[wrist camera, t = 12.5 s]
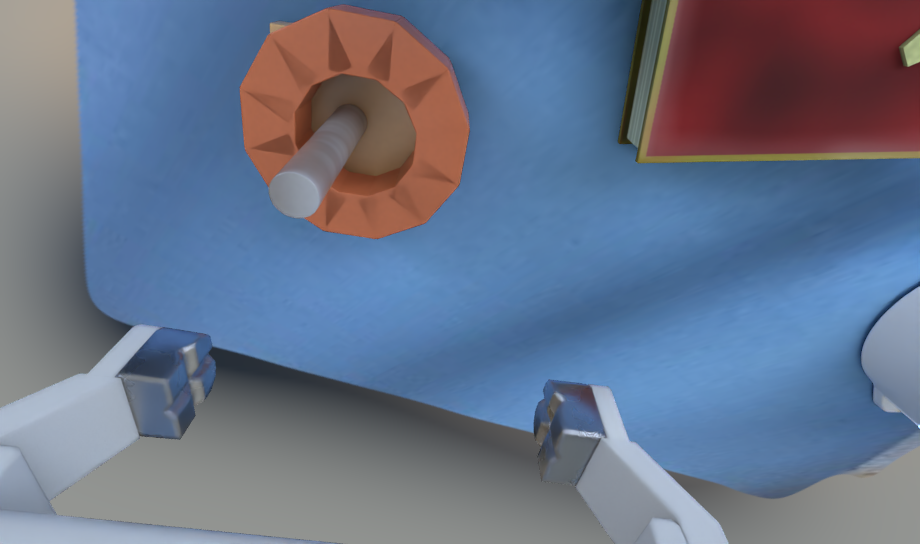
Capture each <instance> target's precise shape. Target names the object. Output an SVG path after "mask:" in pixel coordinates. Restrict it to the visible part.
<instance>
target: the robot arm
mask: <svg viewBox="0 0 920 544" xmlns="http://www.w3.org/2000/svg"><path fill="white" fill-rule="evenodd" d="M211 348H212V342H211V338H210V336H209V335H207V334H203V333H197V332H191V331H184V330H178V329H172V328H165V327H156V326H150V325H144V324H139V325H137V326H134V327H133V328H132V329H131V330H130V331H129V332H128V333H127V334H126V335H125V336H124V337H123V338H122V339H121V340H120V341H119V342H118V343H117V344H116V345H115V346H114V347H113V348H112V349H111V350H110V351H109V352H108V353H107V354H106V355H105V356H104V357H103V358H102V359H101V360H100V361H99V362H98V363H97V364H96V365H95V366H94V367H93V368H92V370H91V371H90V372H89V373H88V374H82V373H79V374H77V375H75V376H72V377H70V378H68V379H66V380H63V381H61V382H58V383H56V384H54V385H52V386H49V387H47V388H45V389H42V390H40V391H38V392H36V393H33V394H31V395H29V396H26V397H24V398H22V399H19V400H17V401H15V402H12V403H10V404H8V405H5V406H3V407H1V408H0V544H341V543H331V542H321V541H311V540H300V539H290V538H281V537H271V536H261V535H251V534H241V533H232V532H222V531H212V530H201V529H192V528H182V527H171V526H162V525H152V524H142V523H132V522H122V521H112V520H101V519H92V518H82V517H72V516H62V515H57V514H56V512H55V510H54V509H53V507H52V505H51V503H50V500H52V499H53V498H55V497H56V496H58V495H59V494H60V493H62V492H63V491H65V490H66V489H68V488H69V487H70V486H72V485H73V484H75V483H76V482H77V481H79V480H80V479H82V478H83V477H85V476H86V475H88V474H89V473H91V472H92V471H94V470H95V469H96V468H98V467H99V466H101V465H102V464H103V463H105V462H106V461H108V460H109V459H111V458H112V457H114V456H115V455H116V454H118V453H119V452H121V451H122V450H124V449H125V448H127V447H128V446H129V445H131V444H132V443H134V442H135V441H137V440H138V439H139V438H140V436H145V437H156V438H168V439H179V440H180V439H181V438H182V436H183V434H184V433H185V431H186V429H187V428H188V426H189V425H190V423H191V422H192V420H193V419H194V417H195V411H194V406H196V405H197V404H199V403H201V402H203V401H204V400H205V399H206V398H207V396H208V394H209V393H210V391H211V389H212V386H213V383H214V380H215V373H216V366H215V360H214V359H213V358H211V356H210V355H208V352H209V351H210V350H211ZM861 363H862V367H863V370H864V372H865V373H866V375H867V376H868V377H869V379H870V380H871V381H872V383H873V385H874V390H873V401H874V403H875V404H876V405H878V406H879V407H880V408H881V409H882V410H884V411H886V412H902V413H904V414H905V415H906V416H907V417H908V418H909V419H910V420H912V421H913V422H914V423H915V424H916V425H917V426H918V427H919V428H920V286H919V287H917V288H916V289H914V290H912V291H911V292H910V293H908V294H907V295H905V296H904V297H903V298H901V299H900V300H899V301H898V302H896V303H895V304H894V305H893V306H892V307H891V308H890V309H889V310H888V311H887V312H886V313H885V314H884V315H883V316H882V317H881V318H880V319H879V320H878V321H877V323H876V324H875V325H874V327H873V328H872V329H871V331H870V333H869V334H868V336H867V338H866V340H865V342H864V345H863V348H862V353H861ZM543 392H544V399H543V400H541V401H540V402H538V405H537V408H536V411H535V417H534V436H535V441H536V442H537V443H538V444H539V445H540V447H541V449H540V451H539V454H538V463H539V469H540V476H541V481H544V482H551V483H558V484H565V485H572V486H576V487H575V488H576V490H577V491H578V492H579V494H580V495H581V497H582V498H583V500H584V501H585V502H586V504H587V505H588V507H589V508H590V510H591V511H592V512H593V514H594V515H595V517H596V518H597V520H598V521H599V523H600V524H601V525H602V527H603V528H604V530H605V531H606V533H607V534H608V535H609V537H610V538H611V540H612V541H613V542H614V544H729V543H728V541H727V539H726V536H725V534H724V532H723V530H722V528H721V526H720V523H719V522H718V521H716V520H715V519H714V518H713V517H712V516H711V515H710V514H709V513H708V512H707V511H706V510H705V509H704V508H703V507H702V506H701V505H700V504H699V503H698V502H697V501H696V500H695V499H694V498H692V496H691V495H690V494H689V493H688V492H687V491H685V490H684V489H683V488H682V487H681V486H680V485H679V484H678V483H677V482H676V481H675V480H674V479H673V478H672V477H671V476H670V475H669V474H668V473H667V472H666V471H665V470H664V469H663V468H662V467H661V466H660V465H659V464H658V463H657V462H656V461H654V460H653V459H652V458H651V457H650V456H649V455H648V454H647V453H646V452H645V451H644V450H643V449H642V448H641V447H640V446H639V445H638V444H637V443H636V442H631V441H629V438H628V435H627V433H626V430H625V427H624V424H623V422H622V419H621V416H620V413H619V411H618V408H617V405H616V402H615V400H614V397H613V394H612V391H611V389H610V388H609V387H607V386H599V385H591V384H588V385H587V384H582V383H574V382H566V381H558V380H550V379H549V380H548V381H547V382H546V384H545V387H544V389H543Z"/></svg>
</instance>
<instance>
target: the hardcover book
mask: <svg viewBox="0 0 920 544" xmlns="http://www.w3.org/2000/svg"><path fill="white" fill-rule="evenodd" d="M618 143H619V144H634V145H635V146H636V147H637V148H638V150H637V155H636V160H635V161H636V162H637V163H675V162H730V161H785V160H840V159H895V158H920V0H642V4H641V10H640V15H639V21H638V27H637V33H636V39H635V45H634V50H633V56H632V62H631V68H630V74H629V80H628V85H627V91H626V97H625V103H624V109H623V115H622V120H621V126H620V132H619V138H618Z"/></svg>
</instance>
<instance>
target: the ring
mask: <svg viewBox="0 0 920 544" xmlns="http://www.w3.org/2000/svg"><path fill="white" fill-rule="evenodd" d="M340 74H346V75H351V76H356V77H362V78H367V79H372V80H377V81H378V82H379V83H380V84H381V85H383V86H384V87H385V88H386V89H387V90H389V91H390V92H391V93H392V94H393V95H395V96H396V97H397V98H398V99H399V100H401V101H402V102H403V103H404V105H405V108H406V110H407V112H408V115H409V117H410V120H411V122H412V125H413V127H414V129H415V132H416V141H415V149H414V151H413V152H412V154H411V155H410V156H409V157H408V159H407V160H406V161H405V162H404V164H403V165H402V166H401V167H400V168H397V169H395V170H392V171H389V172H386V173H383V174H381V175H378V176H371V175H365V174H359V173H353V172H349V171H347V170H346V169H345V168H342V170H341V171H340V173H339V175H338V176H337V178H336V179H335V181H334V183H333V184H332V186H331V188H330V189H329V191H328V193H327V194H326V196H325V197H324V199H323V201H322V202H321V204H320V206H319V207H318V209H317V210H316V212H315V213H314V214H312V215H311V216H309V217H306V218H305V219H306V220H308V221H309V222H311V223H312V224H314V225H315V226H317V227H318V228H320V229H322V230H323V231H324V230H325V231H327V232H333V233H340V234H346V235H353V236H359V237H366V238H372V239H379V238H382V237H385V236H388V235H391V234H394V233H397V232H400V231H404V230H407V229H410V228H413V227H416V226H419V225H422V224H424V223H426V222H427V221H428V220H429V219H430V217H431V216H432V215H433V214H434V213H435V212H436V211H437V210H438V208H439V207H440V206H441V205H442V204H443V203H444V202H445V201H446V200H447V198H448V197H449V196H450V195H451V194H452V193H453V192H454V191H455V189H456V188H457V187H458V186H459V184H460V179H461V174H462V169H463V164H464V158H465V153H466V148H467V142H468V137H469V132H470V128H469V114H468V110H467V107H466V104H465V102H464V99H463V96H462V93H461V90H460V87H459V84H458V81H457V78H456V75H455V72H454V69H453V66H452V64H451V61H450V60H449V58H448V57H447V56H446V55H445V54H444V53H443V52H442V51H441V50H440V49H438V48H437V47H436V46H435V45H434V44H433V43H432V42H431V41H430V40H429V39H428V38H426V37H425V36H424V35H423V34H422V33H421V32H420V31H419V30H418V29H417V28H415V27H414V26H413V25H412V24H411V23H410V22H409V21H408V20H407V19H406V18H404V17H402V16H399V15H394V14H389V13H384V12H379V11H374V10H369V9H364V8H359V7H354V6H350V5H345V4H343V5H337V6H333V7H329V8H326V9H323V10H321V11H319V12H317V13H314V14H312V15H310V16H308V17H305V18H303V19H301V20H299V21H296V22H294V23H292V24H290V25H287V26H285V27H283V28H281V29H278V30H276V31H274V32H272V33H270V34H269V35H268V36H267V38H266V40H265V41H264V43H263V45H262V47H261V49H260V51H259V52H258V54H257V56H256V58H255V60H254V62H253V63H252V65H251V67H250V69H249V71H248V73H247V75H246V76H245V78H244V80H243V82H242V84H241V86H240V99H241V112H242V124H243V136H244V147H245V151H246V152H247V154H248V156H249V157H250V159H251V160H252V162H253V163H254V165H255V167H256V168H257V170H258V171H259V173H260V175H261V176H262V178H263V179H264V181H265V182H266V184H267V186H268V187H269V185H270V182H271V180H272V179H273V178H274V177H275V176H276V175H277V173H278V172H279V171H280V170H281V169H282V168H283V167H284V166H285V165H286V164H287V163H288V162H289V160H290V159H291V158H292V157H293V156H294V155H295V154H296V153H297V152H298V151H299V150H300V149H301V147H302V146H303V145H304V144H305V143H306V142H307V141H308V140H309V139H310V138H311V137H312V136H313V134H314V132H313V130H312V129H311V99H312V98H313V96H314V94H315V93H316V91H317V90H318V88H319V87H320V85H321V83H322V82H323V81H326V80H328V79H330V78H333V77H335V76H338V75H340Z"/></svg>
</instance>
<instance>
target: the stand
mask: <svg viewBox="0 0 920 544" xmlns="http://www.w3.org/2000/svg"><path fill="white" fill-rule="evenodd" d="M290 24H292V23H289V22H284V21H276V22H272V23H270V33H272V32H274V31H276V30H278V29H281V28H283V27H285V26H287V25H290ZM311 129H312V130H313V132H314V134H313V136H312V137H311V138H310V139H309V140H308V141H307V142H306V143H305V144H304V145H303V146H302V147H301V149H300V150H299V151H298V152H297V153H296V154H295V155H294V156H293V157H292V158H291V159H290V160H289V162H288V163H287V164H286V165H285V166H284V167H283V168H282V169H281V170H280V171H279V172H278V173H277V175H276V176H275V177H274V178H273V179H272V180H271V182H270V185H269V196H270V199H271V201H272V203H273V205H274V206H275V207H276V208H277V209H278V210H279V211H280V212H281V213H283V214H285V215H287V216H289V217H292V218H306V217H309V216H311V215H312V214H314V213H315V212H316V210H317V209H318V207H319V206H320V204H321V202H322V201H323V199H324V197H325V196H326V194H327V193H328V191H329V189H330V188H331V186H332V184H333V183H334V181H335V179H336V178H337V176H338V175H339V173H340V171H341V170H342V168H345V169H346V170H347V171H349V172H353V173H359V174H365V175H371V176H378V175H381V174H383V173H386V172H389V171H392V170H395V169H397V168H400V167H401V166H402V165H403V164H404V162H405V161H406V160H407V159H408V157H409V156H410V155H411V154H412V152H413V151H414V149H415V141H416V132H415V129H414V127H413V125H412V122H411V120H410V117H409V115H408V112H407V110H406V108H405V105H404V103H403V102H402V101H401V100H399V99H398V98H397V97H396V96H395V95H393V94H392V93H391V92H390V91H389V90H387V89H386V88H385V87H384V86H383V85H381V84H380V83H379V82H378V81H377V80H372V79H367V78H362V77H356V76H351V75H346V74H340V75H338V76H335V77H333V78H330V79H328V80H326V81H323V82H322V83H321V85H320V87H319V88H318V90H317V91H316V93H315V94H314V96H313V98H312V99H311Z"/></svg>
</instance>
